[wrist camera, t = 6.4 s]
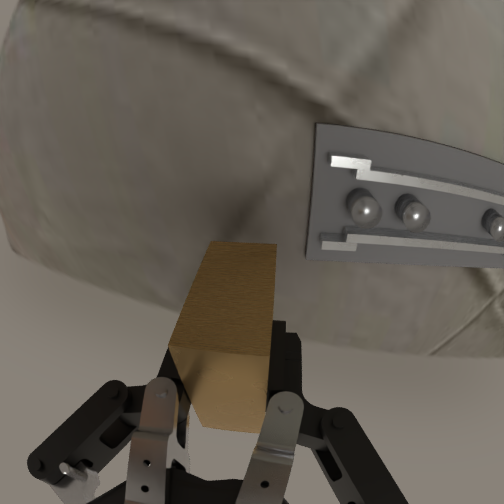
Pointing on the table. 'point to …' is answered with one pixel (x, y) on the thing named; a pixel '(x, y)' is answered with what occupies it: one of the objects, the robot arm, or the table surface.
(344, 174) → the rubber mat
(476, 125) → the table surface
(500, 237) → the grey studded track end
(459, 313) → the table surface
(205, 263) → the tall wooden block
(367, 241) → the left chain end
